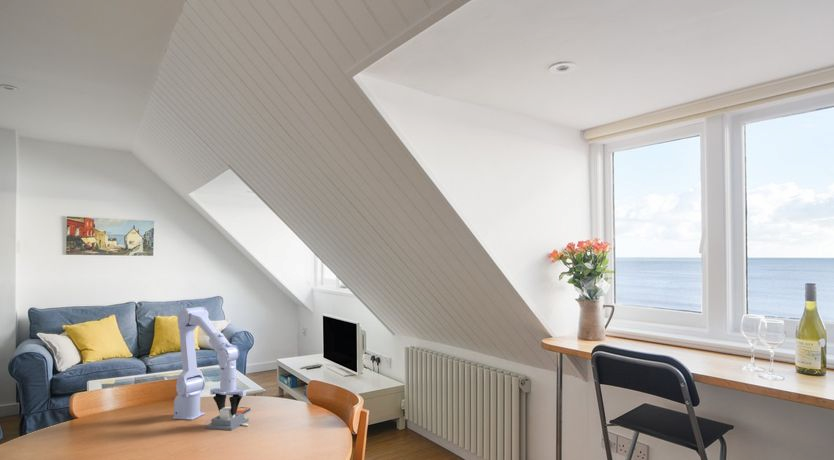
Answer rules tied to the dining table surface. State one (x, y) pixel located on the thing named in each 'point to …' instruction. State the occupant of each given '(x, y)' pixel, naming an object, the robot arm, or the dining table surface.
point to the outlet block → (228, 422)
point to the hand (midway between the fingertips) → (227, 414)
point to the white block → (226, 413)
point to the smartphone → (242, 410)
